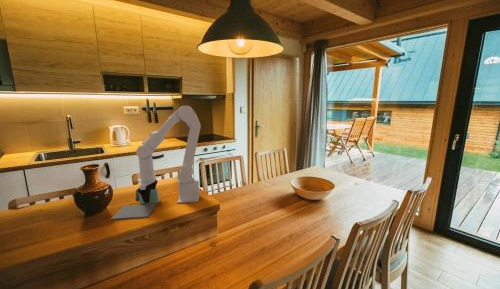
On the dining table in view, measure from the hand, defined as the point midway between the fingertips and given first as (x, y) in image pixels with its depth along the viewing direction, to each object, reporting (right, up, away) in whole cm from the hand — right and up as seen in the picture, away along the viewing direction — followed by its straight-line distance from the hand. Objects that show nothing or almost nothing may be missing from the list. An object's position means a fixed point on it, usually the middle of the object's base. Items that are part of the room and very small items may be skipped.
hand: (149, 199), depth 107 cm
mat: (-2, -3, -9) cm, 10 cm away
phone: (-7, -1, +11) cm, 13 cm away
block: (0, -2, 0) cm, 2 cm away
